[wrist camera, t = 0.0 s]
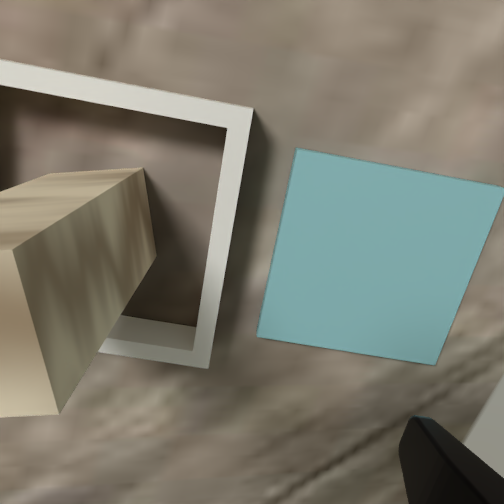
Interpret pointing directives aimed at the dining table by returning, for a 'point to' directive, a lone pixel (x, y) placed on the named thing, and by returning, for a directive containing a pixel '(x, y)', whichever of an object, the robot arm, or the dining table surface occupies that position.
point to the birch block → (66, 278)
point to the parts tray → (238, 126)
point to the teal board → (373, 256)
